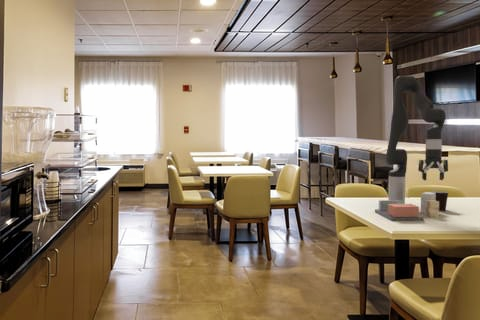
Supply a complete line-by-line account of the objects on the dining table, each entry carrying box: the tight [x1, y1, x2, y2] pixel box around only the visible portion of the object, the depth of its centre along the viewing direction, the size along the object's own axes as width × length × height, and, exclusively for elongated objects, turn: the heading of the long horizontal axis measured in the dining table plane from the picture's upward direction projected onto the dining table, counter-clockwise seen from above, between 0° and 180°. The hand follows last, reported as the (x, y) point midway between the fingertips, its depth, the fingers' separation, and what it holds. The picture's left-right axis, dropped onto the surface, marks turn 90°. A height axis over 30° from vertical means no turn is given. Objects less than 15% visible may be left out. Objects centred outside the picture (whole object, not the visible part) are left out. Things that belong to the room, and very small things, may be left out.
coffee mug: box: [431, 190, 449, 212], centre depth 243 cm, size 12×9×10 cm
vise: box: [374, 199, 425, 222], centre depth 225 cm, size 24×16×6 cm
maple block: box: [425, 200, 440, 218], centre depth 224 cm, size 5×4×8 cm
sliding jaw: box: [388, 203, 420, 217], centre depth 219 cm, size 9×12×5 cm
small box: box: [420, 191, 436, 214], centre depth 235 cm, size 8×6×10 cm
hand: (432, 180), depth 223 cm, fingers open, 8 cm apart
